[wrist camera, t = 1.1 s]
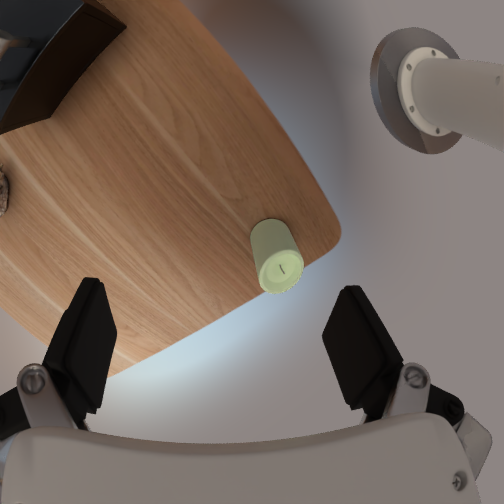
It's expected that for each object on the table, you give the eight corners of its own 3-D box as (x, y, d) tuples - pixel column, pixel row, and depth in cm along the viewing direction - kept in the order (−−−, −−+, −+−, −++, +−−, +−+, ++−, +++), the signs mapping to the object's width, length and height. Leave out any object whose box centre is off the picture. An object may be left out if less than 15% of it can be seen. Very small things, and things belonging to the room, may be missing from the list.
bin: (127, 26, 18) (84, 1, 9) (49, 118, 22) (-9, 139, 13) (61, -26, 11) (15, -47, 2) (-4, 58, 14) (-59, 65, 5)
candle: (280, 211, 32) (297, 248, 26) (295, 242, 35) (314, 283, 28) (242, 229, 33) (250, 270, 26) (260, 259, 36) (271, 302, 29)
